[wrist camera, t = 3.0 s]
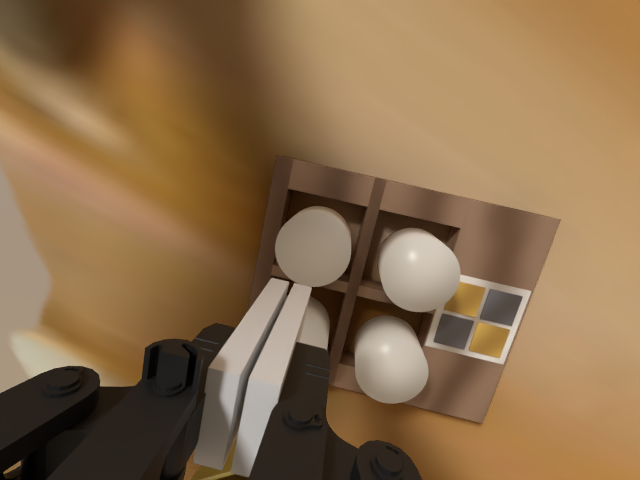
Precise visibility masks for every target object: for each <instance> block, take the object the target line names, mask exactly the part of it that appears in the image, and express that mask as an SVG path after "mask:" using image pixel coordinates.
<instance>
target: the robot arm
mask: <svg viewBox="0 0 640 480" xmlns="http://www.w3.org/2000/svg"><path fill="white" fill-rule="evenodd" d="M288 286H289V282H288V281H283V280H279V279H275V278H271V279H270V281H269V282H268V284H267V285H266V287H265V288H264V289H263V291H262V292H261V294H260V295H259V296H258V298H257V299H256V301H255V302H254V304H253V305H252V306H251V308H250V309H249V311H248V312H247V313H246V315H245V316H244V318H243V319H242V321H241V322H240V323H239V325H238V326H237V328H234V327H230V326H226V325H222V324H218V323H215V324H213V325H211V326H208V327H206V328H204V329H203V330H202V331H201V332H200V333H199V334H198V335H197V336H196V339H194V340H193V341H192V342H190V341H188V340H182V339H165V340H161V341H158V342H154V343H152V344H151V345H149V346H147V347H146V348H145V355H144V364H143V372H142V379H141V380H140V381H139V382H138V384H137V385H136V386H129V387H100V379H99V374H98V373H96V372H95V371H94V370H93V369H90V368H86V367H83V366H66V367H61V368H55V369H52V370H49V371H47V372H44V373H41V374H39V375H37V376H35V377H33V378H31V379H29V380H27V381H25V382H23V383H21V384H19V385H17V386H15V387H12V388H10V389H8V390H6V391H4V392H2V393H0V480H183V479H184V475H185V470H186V464H187V461H188V459H189V458H190V456H191V454H192V452H193V450H194V449H195V452H194V458H193V463H195V464H199V465H203V466H207V467H210V468H214V469H218V470H223V467H224V465H225V463H226V460H227V458H228V455H229V453H230V451H231V448H232V446H233V444H234V441H235V439H236V436H237V434H238V437H237V442H236V447H235V452H234V457H233V462H232V467H231V473H233V474H237V475H241V476H245V477H248V480H422V479H421V476H420V474H419V472H418V470H417V468H416V466H415V465H414V463H413V462H412V460H411V459H410V457H409V456H408V455H406V454H405V453H404V452H403V451H402V450H401V449H400V448H398V447H396V446H394V445H392V444H390V443H388V442H383V441H379V440H376V441H368V442H366V443H364V444H363V445H361V446H360V448H359V449H358V448H356V447H354V446H352V445H351V444H349V443H347V442H345V441H344V440H342V439H341V438H339V437H338V436H337V435H336V434H335V433H334V432H333V431H332V429H331V428H330V426H329V425H328V422H327V419H326V404H327V393H328V383H329V373H330V363H331V358H330V356H329V354H328V352H327V351H326V349H324V348H320V347H316V346H312V345H308V344H304V343H300V338H301V333H302V329H303V325H304V320H305V316H306V311H307V307H308V303H309V298H310V294H311V289H312V287H308V286H304V285H300V284H296V283H294V285H293V287H292V289H291V291H290V293H289V295H288V297H287V299H286V295H287V291H288ZM285 300H286V302H285ZM20 460H21V465H20V466H19V467H17V468H16V469H14V470H12V471H10V472H8V473H6V474H3V472H4V471H5V470H7V469H8V468H10V467H11V466H13V465H14V464H16V463H17V462H19V461H20Z"/></svg>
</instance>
